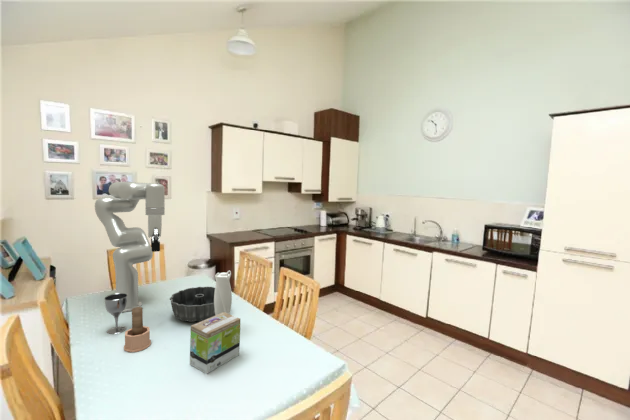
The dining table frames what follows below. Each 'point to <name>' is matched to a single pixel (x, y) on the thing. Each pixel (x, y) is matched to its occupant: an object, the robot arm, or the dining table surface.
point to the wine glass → (116, 309)
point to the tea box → (214, 341)
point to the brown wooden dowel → (137, 321)
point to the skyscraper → (222, 293)
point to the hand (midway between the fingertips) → (155, 249)
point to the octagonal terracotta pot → (137, 340)
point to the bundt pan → (194, 304)
